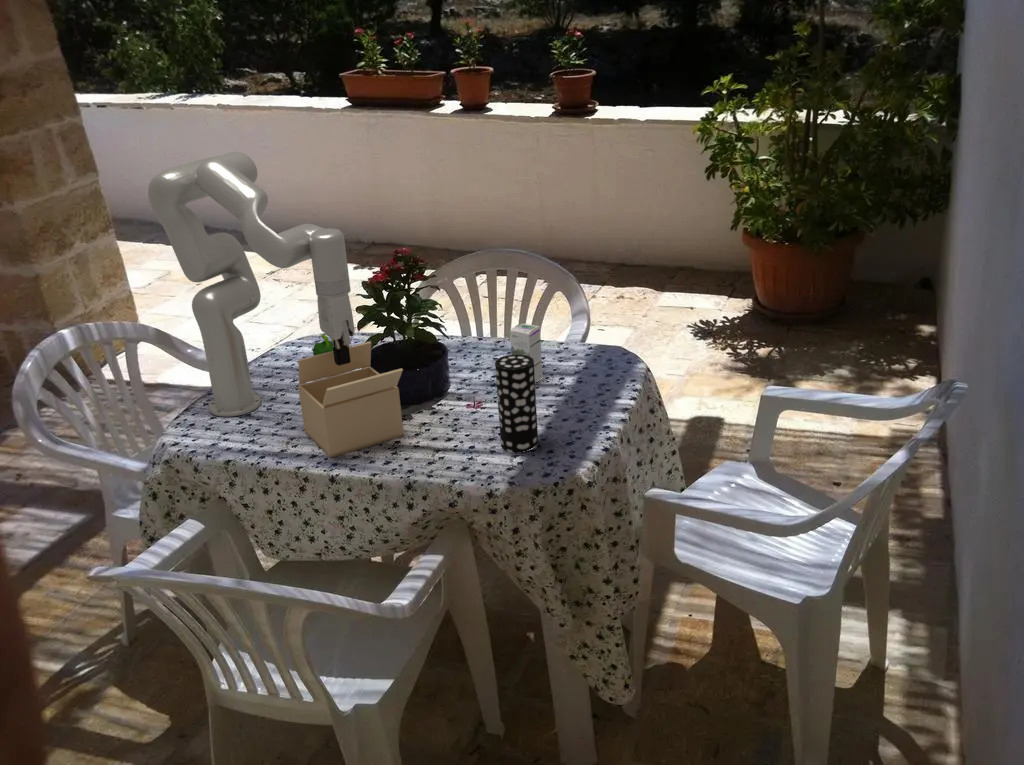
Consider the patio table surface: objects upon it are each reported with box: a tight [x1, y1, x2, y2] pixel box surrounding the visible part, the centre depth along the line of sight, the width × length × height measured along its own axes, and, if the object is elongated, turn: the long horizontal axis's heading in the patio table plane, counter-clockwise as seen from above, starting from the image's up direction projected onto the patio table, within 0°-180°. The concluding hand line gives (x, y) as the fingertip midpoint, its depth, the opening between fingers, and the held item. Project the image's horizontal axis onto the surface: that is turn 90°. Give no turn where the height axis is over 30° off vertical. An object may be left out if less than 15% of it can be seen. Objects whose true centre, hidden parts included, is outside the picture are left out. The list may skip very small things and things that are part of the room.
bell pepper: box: [312, 333, 333, 356], centre depth 276 cm, size 8×8×10 cm
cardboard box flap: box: [322, 367, 404, 406], centre depth 229 cm, size 7×18×1 cm
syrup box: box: [509, 322, 544, 382], centre depth 262 cm, size 6×6×14 cm
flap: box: [297, 341, 372, 385], centre depth 241 cm, size 7×18×1 cm
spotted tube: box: [494, 354, 539, 454], centre depth 229 cm, size 8×8×20 cm
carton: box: [297, 366, 405, 459], centre depth 240 cm, size 16×18×12 cm
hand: (342, 363), depth 236 cm, fingers closed
